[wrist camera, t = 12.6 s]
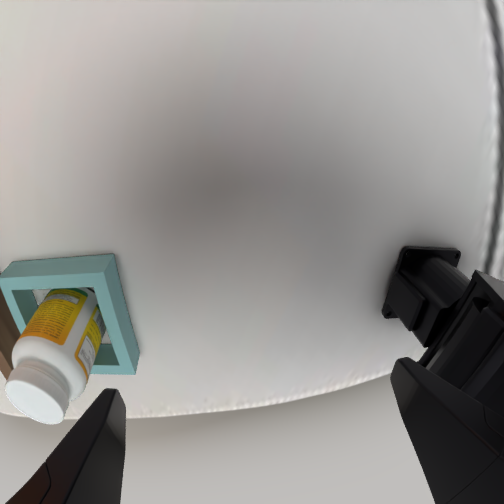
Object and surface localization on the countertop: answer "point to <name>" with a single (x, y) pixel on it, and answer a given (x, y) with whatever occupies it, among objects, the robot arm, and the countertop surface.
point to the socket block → (75, 276)
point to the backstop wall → (7, 337)
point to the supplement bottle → (55, 354)
